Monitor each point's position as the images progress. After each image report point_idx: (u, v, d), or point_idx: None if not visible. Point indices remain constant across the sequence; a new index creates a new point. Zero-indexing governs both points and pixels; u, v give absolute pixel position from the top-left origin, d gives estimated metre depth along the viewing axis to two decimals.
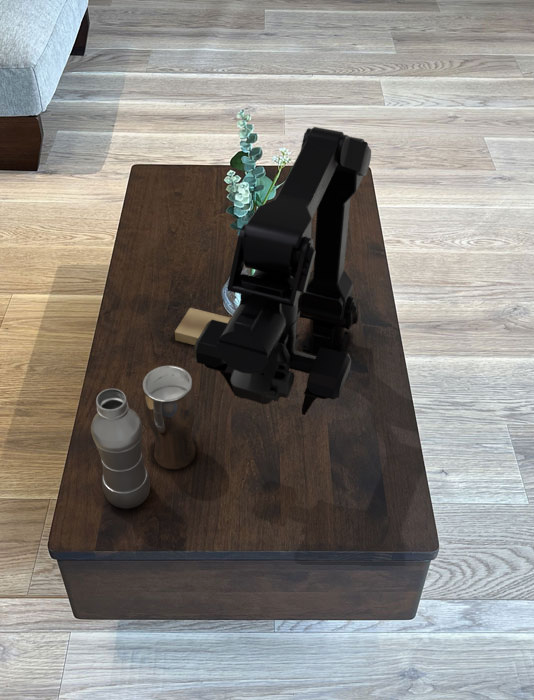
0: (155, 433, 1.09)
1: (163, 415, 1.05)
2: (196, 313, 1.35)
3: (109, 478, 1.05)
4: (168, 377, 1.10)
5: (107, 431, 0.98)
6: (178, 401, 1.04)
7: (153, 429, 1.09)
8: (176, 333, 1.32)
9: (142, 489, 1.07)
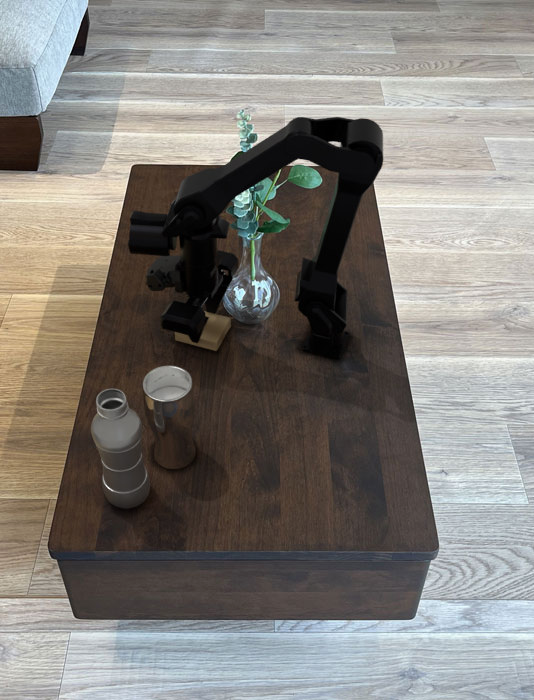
0: (155, 433, 1.09)
1: (164, 415, 1.05)
2: None
3: (109, 478, 1.05)
4: (168, 377, 1.10)
5: (107, 431, 0.98)
6: (178, 401, 1.04)
7: (153, 429, 1.09)
8: (176, 333, 1.32)
9: (142, 489, 1.07)
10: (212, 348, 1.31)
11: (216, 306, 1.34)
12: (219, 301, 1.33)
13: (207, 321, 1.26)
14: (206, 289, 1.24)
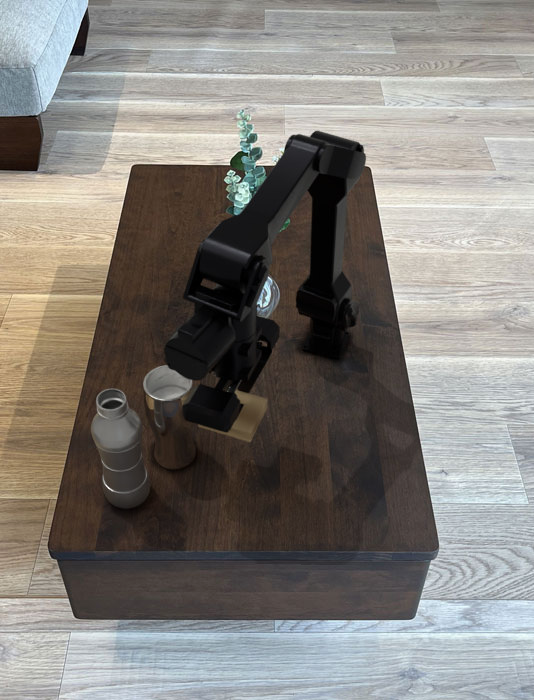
0: (155, 432, 1.09)
1: (163, 415, 1.05)
2: None
3: (109, 478, 1.05)
4: (169, 377, 1.10)
5: (107, 431, 0.98)
6: (178, 400, 1.04)
7: (153, 428, 1.09)
8: None
9: (142, 489, 1.07)
10: (245, 439, 1.04)
11: (250, 384, 1.07)
12: (255, 379, 1.06)
13: None
14: (241, 369, 0.97)
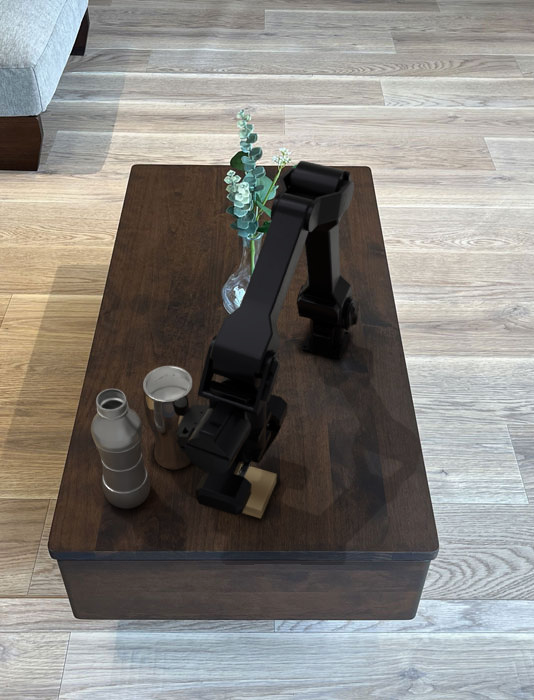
0: (155, 433, 1.09)
1: (163, 415, 1.05)
2: None
3: (109, 478, 1.05)
4: (169, 377, 1.10)
5: (107, 431, 0.98)
6: (178, 401, 1.04)
7: (153, 429, 1.09)
8: None
9: (142, 489, 1.07)
10: (255, 515, 1.08)
11: (263, 452, 1.11)
12: (267, 447, 1.10)
13: None
14: (252, 452, 1.01)
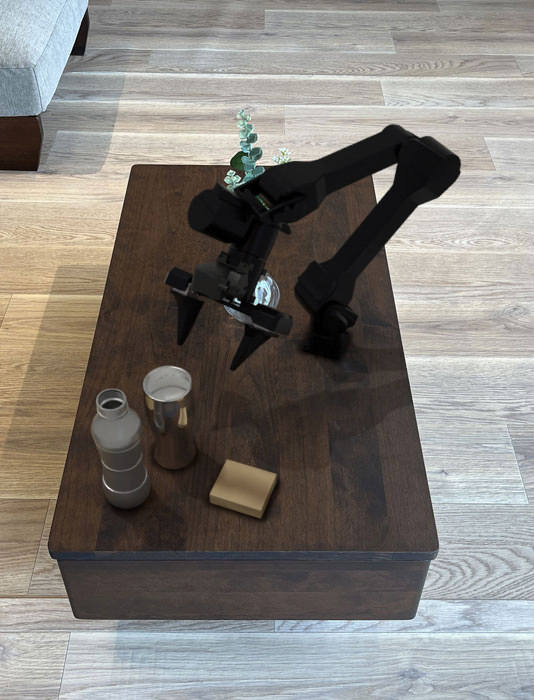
0: (155, 433, 1.09)
1: (163, 415, 1.05)
2: (234, 467, 1.12)
3: (109, 478, 1.05)
4: (169, 377, 1.10)
5: (107, 431, 0.98)
6: (178, 401, 1.04)
7: (153, 429, 1.09)
8: (211, 496, 1.09)
9: (142, 489, 1.07)
10: (255, 515, 1.08)
11: (190, 329, 1.14)
12: (194, 321, 1.15)
13: None
14: None
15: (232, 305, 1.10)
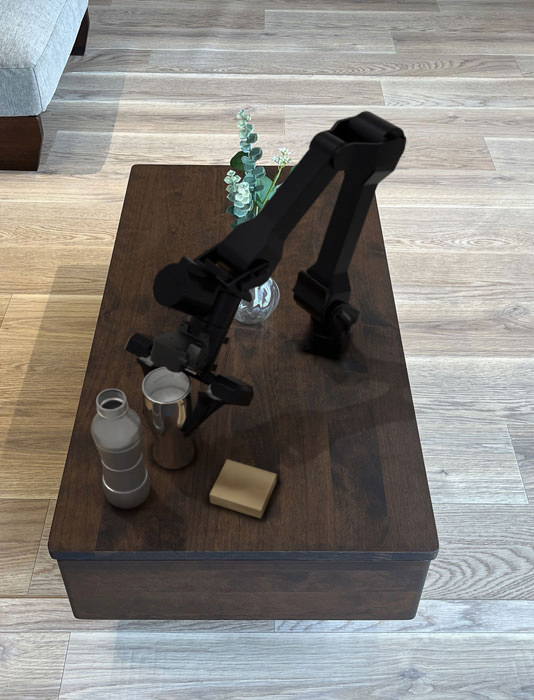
0: (154, 434, 1.09)
1: (163, 417, 1.05)
2: (234, 467, 1.12)
3: (109, 478, 1.05)
4: (167, 378, 1.09)
5: (107, 431, 0.98)
6: (177, 403, 1.04)
7: (152, 430, 1.08)
8: (211, 496, 1.09)
9: (142, 489, 1.07)
10: (255, 515, 1.08)
11: None
12: None
13: None
14: None
15: (186, 371, 1.09)
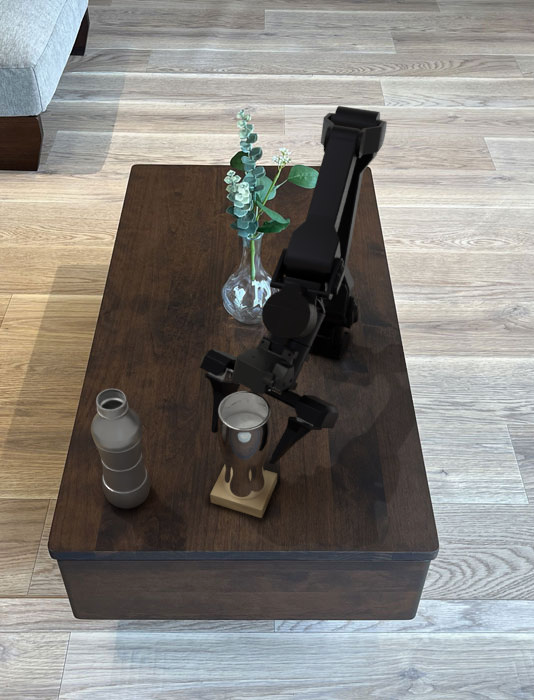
0: (229, 462, 1.03)
1: (241, 445, 0.99)
2: None
3: (109, 478, 1.05)
4: (242, 403, 1.04)
5: (107, 431, 0.98)
6: (257, 430, 0.98)
7: (227, 458, 1.03)
8: (212, 496, 1.09)
9: (142, 489, 1.07)
10: (256, 515, 1.08)
11: None
12: None
13: None
14: None
15: (273, 393, 1.02)
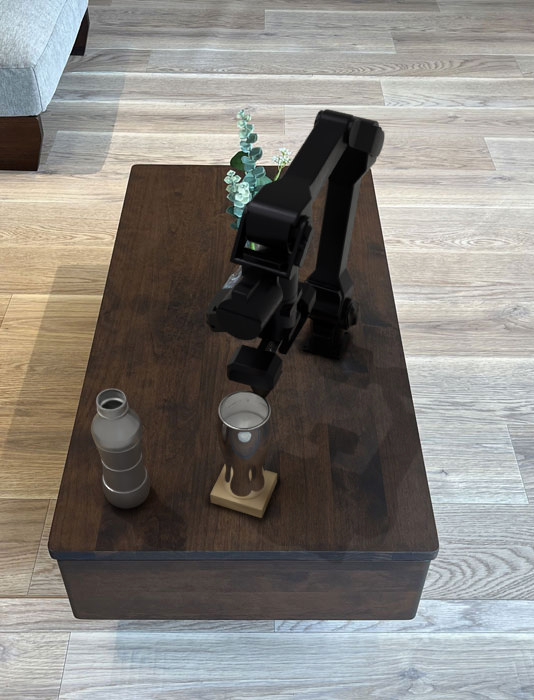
0: (229, 462, 1.03)
1: (241, 444, 0.99)
2: None
3: (109, 478, 1.05)
4: (242, 403, 1.04)
5: (107, 431, 0.98)
6: (257, 429, 0.98)
7: (227, 458, 1.03)
8: (212, 496, 1.09)
9: (142, 489, 1.07)
10: (256, 515, 1.08)
11: (291, 342, 1.10)
12: (295, 336, 1.10)
13: None
14: (282, 330, 1.00)
15: None
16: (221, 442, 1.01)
